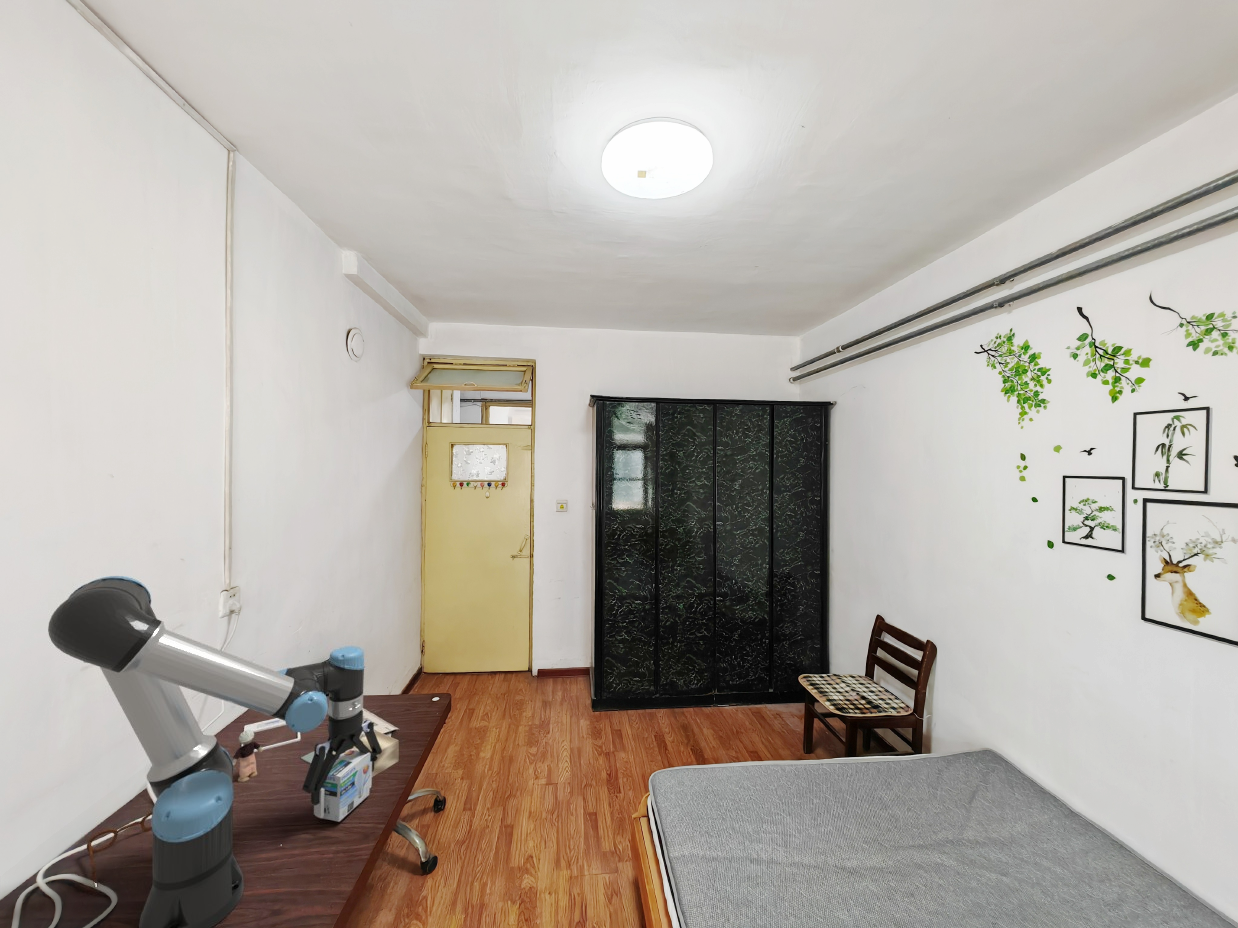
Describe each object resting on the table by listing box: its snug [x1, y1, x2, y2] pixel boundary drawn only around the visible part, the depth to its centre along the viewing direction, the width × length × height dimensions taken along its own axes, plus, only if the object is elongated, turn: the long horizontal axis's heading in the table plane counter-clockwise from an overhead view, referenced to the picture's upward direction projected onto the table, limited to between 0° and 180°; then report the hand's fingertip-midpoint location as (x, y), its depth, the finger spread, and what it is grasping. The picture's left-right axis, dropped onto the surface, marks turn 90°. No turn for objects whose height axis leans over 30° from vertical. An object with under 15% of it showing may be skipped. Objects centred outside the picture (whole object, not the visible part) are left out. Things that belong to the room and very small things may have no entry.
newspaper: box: [359, 707, 400, 739], centre depth 159 cm, size 23×12×2 cm, turn 54°
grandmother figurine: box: [232, 730, 264, 783], centre depth 134 cm, size 8×4×13 cm, turn 168°
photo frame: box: [241, 717, 301, 753], centre depth 155 cm, size 15×1×18 cm
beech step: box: [333, 731, 400, 778], centre depth 139 cm, size 14×10×6 cm
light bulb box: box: [321, 749, 370, 822], centre depth 123 cm, size 11×7×11 cm, turn 168°
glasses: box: [86, 810, 153, 884], centre depth 109 cm, size 13×13×5 cm
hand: (343, 800), depth 123 cm, fingers closed on light bulb box, 11 cm apart
